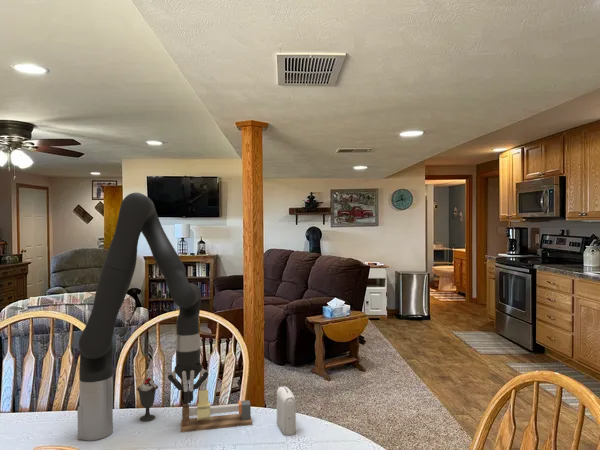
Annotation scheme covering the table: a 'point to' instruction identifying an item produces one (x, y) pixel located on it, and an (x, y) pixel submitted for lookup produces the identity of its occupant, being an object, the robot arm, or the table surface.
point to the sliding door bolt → (229, 409)
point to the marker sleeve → (203, 406)
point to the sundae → (147, 397)
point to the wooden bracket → (210, 421)
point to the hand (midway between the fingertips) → (188, 402)
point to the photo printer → (286, 411)
